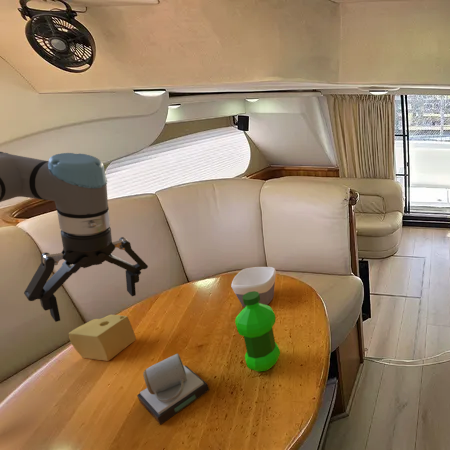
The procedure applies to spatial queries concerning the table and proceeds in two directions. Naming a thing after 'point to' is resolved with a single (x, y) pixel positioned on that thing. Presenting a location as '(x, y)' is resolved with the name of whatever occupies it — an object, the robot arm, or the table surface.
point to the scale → (168, 409)
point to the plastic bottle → (258, 333)
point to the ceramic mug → (165, 376)
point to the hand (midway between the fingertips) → (96, 304)
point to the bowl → (255, 283)
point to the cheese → (103, 337)
